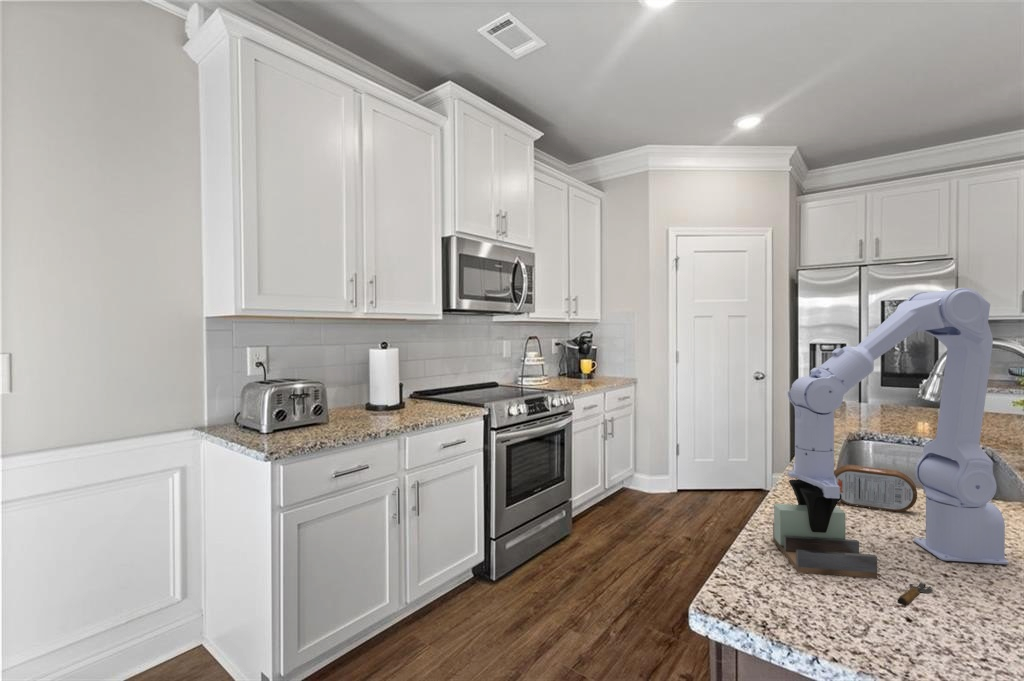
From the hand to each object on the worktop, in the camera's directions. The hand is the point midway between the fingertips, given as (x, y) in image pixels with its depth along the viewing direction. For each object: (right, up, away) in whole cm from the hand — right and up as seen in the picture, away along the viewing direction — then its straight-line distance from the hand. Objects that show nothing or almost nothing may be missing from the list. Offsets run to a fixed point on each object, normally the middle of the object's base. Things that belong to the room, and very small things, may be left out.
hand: (814, 527), depth 86 cm
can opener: (+6, -5, -15) cm, 16 cm away
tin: (+25, -4, +21) cm, 33 cm away
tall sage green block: (-1, -3, 0) cm, 3 cm away
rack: (-1, -4, -3) cm, 5 cm away
